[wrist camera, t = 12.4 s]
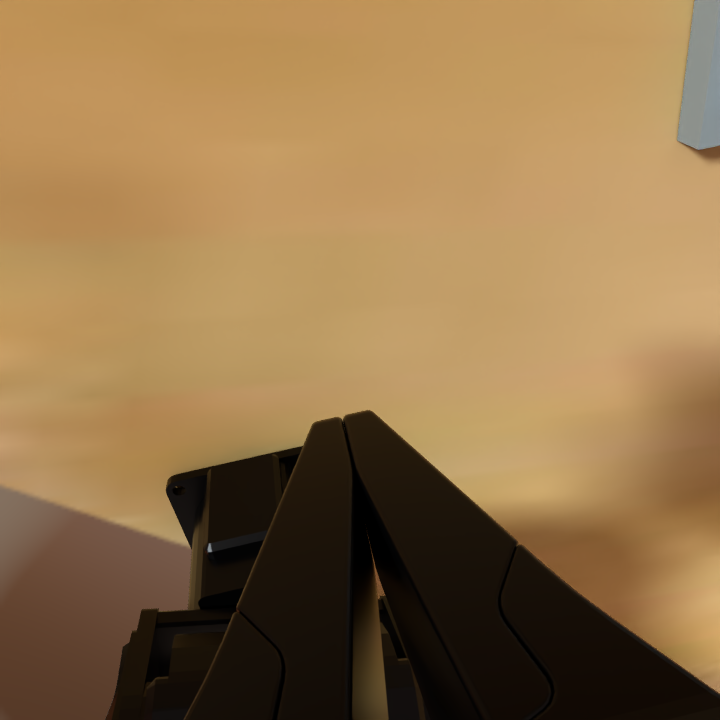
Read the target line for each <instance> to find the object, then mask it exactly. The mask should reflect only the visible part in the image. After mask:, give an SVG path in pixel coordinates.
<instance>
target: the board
mask: <svg viewBox="0 0 720 720" xmlns="http://www.w3.org/2000/svg"><path fill="white" fill-rule="evenodd" d="M677 141H679V142H682V143H684V144H686V145H689V146H691V147H693V148H695V149H698V150H701V149H705V148H710V147H715V146H720V0H695V2H694V10H693V18H692V26H691V34H690V42H689V49H688V57H687V65H686V73H685V81H684V89H683V97H682V105H681V113H680V121H679V129H678V137H677Z"/></svg>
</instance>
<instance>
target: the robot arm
mask: <svg viewBox="0 0 720 720" xmlns="http://www.w3.org/2000/svg"><path fill="white" fill-rule="evenodd" d="M343 423H344V424H343ZM344 428H345V429H344ZM345 432H346V433H345ZM176 486H182V487H183V488H176ZM166 493H167V496H168V498H169V500H170V502H171V505H172V507H173V509H174V511H175V514H176V516H177V518H178V520H179V522H180V525H181V527H182V529H183V531H184V534H185V536H186V538H187V540H188V543H189V545H190V547H191V549H192V556H191V571H190V586H189V599H188V610H175V611H159V609H142V611H141V615H140V619H139V624H138V628H137V630H136V631H132V634H131V638H130V642H129V643H128V644H126V645H125V646H124V647H123V650H122V657H121V662H120V668H119V675H118V680H117V686H116V691H115V695H114V698H113V701H112V703H111V706H110V709H109V711H108V714H107V716H106V719H105V720H720V694H719V693H718V692H716V691H715V690H714V689H712V688H711V687H709V686H708V685H706V684H705V683H704V682H702V681H701V680H699V679H698V678H697V677H695V676H694V675H692V674H691V673H689V672H688V671H687V670H685V669H684V668H682V667H681V666H680V665H678V664H677V663H675V662H674V661H673V660H671V659H670V658H668V657H667V656H665V655H664V654H663V653H661V652H660V651H658V650H657V649H656V648H654V647H653V646H651V645H650V644H648V643H647V642H646V641H644V640H643V639H641V638H640V637H639V636H637V635H636V634H634V633H633V632H631V631H630V630H629V629H627V628H626V627H624V626H623V625H622V624H620V623H619V622H617V621H616V620H614V619H613V618H612V617H610V616H609V615H608V614H606V613H605V612H604V611H602V610H601V609H600V608H598V607H597V606H596V605H594V604H593V603H592V602H590V601H589V600H587V599H586V598H585V597H583V596H582V595H581V594H579V593H578V592H577V591H575V590H574V589H573V588H572V587H571V586H569V585H568V584H567V583H566V582H565V581H563V580H562V579H561V578H560V577H559V576H557V575H556V574H555V573H554V572H553V571H551V570H550V569H549V568H548V567H547V566H545V565H544V564H543V563H542V562H541V561H540V560H539V559H538V558H536V557H535V556H534V555H533V554H532V553H531V552H530V551H529V550H528V549H526V548H525V547H524V546H523V545H518V541H517V540H516V539H515V538H514V537H513V536H511V535H510V534H509V533H508V532H507V531H506V530H505V529H504V528H503V527H501V526H500V525H499V524H498V523H497V522H496V521H495V520H494V519H492V518H491V517H490V516H489V515H488V514H487V513H486V512H485V511H483V510H482V509H481V508H480V507H479V506H478V505H477V504H476V503H475V502H473V501H472V500H471V499H470V498H469V497H468V496H467V495H466V494H464V493H463V492H462V491H461V490H460V489H459V488H458V487H457V486H455V485H454V484H453V483H452V482H451V481H450V480H449V479H448V478H447V477H445V476H444V475H443V474H442V473H441V472H440V471H439V470H438V469H436V468H435V467H434V466H433V465H432V464H431V463H430V462H429V461H427V460H426V459H425V458H424V457H423V456H422V455H421V454H420V453H418V452H417V451H416V450H415V449H414V448H413V447H412V446H411V445H410V444H408V443H407V442H406V441H405V440H404V439H403V438H402V437H401V436H399V435H398V434H397V433H396V432H395V431H394V430H393V429H392V428H390V427H389V426H388V425H387V424H386V423H385V422H384V421H383V420H382V419H380V418H379V417H378V416H377V415H376V414H375V413H374V412H372V411H370V410H366V411H361V412H357V413H352V414H348V415H345V416H344V418H343V421H342V419H341V418H340V417H334V418H330V419H325V420H321V421H317V422H315V423H313V424H312V426H311V429H310V431H309V433H308V436H307V438H306V441H305V443H304V445H303V446H302V447H297V448H293V449H288V450H284V451H279V452H275V453H270V454H266V455H261V456H257V457H252V458H248V459H244V460H239V461H235V462H230V463H226V464H221V465H217V466H212V467H208V468H203V469H199V470H194V471H190V472H185V473H181V474H177V475H174V476H171V477H170V478H169V479H168V481H167V485H166ZM366 528H367V529H366ZM367 533H368V534H367ZM368 537H369V538H368ZM369 542H370V543H369ZM370 546H371V548H370ZM371 551H372V552H371ZM372 555H373V558H374V562H375V566H376V569H377V572H378V575H379V578H380V582H381V584H382V587H383V590H384V593H385V595H386V596H380V599H378V597H377V586H376V577H375V569H374V563H373V558H372Z"/></svg>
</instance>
